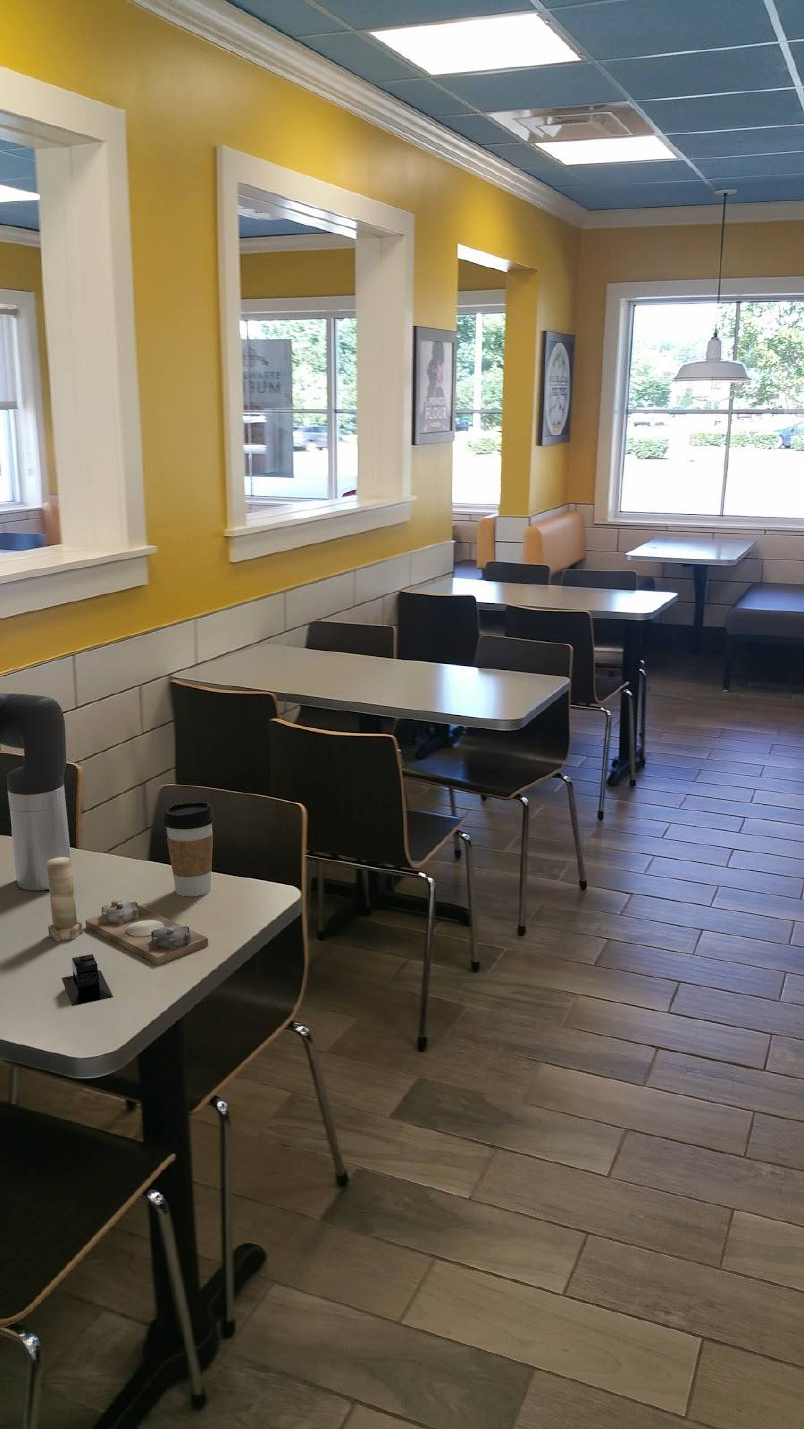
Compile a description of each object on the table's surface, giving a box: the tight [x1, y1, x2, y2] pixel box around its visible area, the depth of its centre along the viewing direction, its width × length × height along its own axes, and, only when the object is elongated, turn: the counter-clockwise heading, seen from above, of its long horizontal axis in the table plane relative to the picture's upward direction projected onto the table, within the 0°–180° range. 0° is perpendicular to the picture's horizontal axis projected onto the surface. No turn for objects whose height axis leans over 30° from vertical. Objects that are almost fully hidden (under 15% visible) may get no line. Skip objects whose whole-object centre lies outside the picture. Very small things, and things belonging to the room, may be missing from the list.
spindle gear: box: [47, 857, 83, 942], centre depth 177 cm, size 5×5×12 cm
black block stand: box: [61, 953, 114, 1007], centre depth 160 cm, size 12×7×5 cm, turn 25°
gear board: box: [85, 900, 209, 966], centre depth 176 cm, size 20×9×3 cm, turn 45°
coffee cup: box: [162, 801, 215, 898], centre depth 193 cm, size 8×8×15 cm
